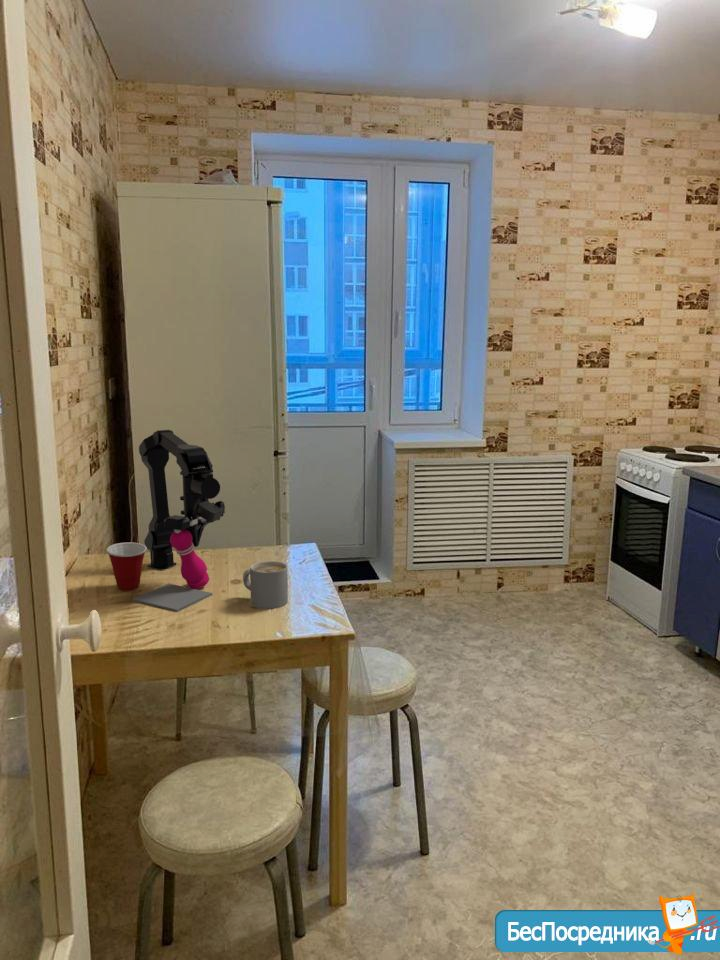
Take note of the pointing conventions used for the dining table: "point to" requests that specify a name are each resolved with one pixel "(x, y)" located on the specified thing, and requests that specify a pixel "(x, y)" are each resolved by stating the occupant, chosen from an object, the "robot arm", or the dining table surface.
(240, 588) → the dining table surface
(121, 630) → the dining table surface
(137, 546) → the plastic cup
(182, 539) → the pepper mill
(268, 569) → the coffee mug
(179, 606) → the mat
